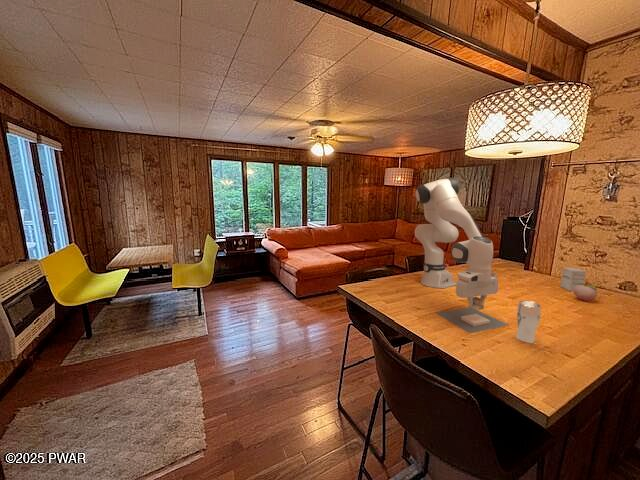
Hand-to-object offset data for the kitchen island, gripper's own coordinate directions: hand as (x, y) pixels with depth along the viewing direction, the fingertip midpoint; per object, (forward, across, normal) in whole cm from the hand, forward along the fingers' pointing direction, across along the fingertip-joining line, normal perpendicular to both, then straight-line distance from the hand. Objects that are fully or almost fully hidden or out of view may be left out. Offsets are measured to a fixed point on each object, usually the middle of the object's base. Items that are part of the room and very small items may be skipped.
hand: (476, 304), depth 114 cm
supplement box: (+8, -93, -16) cm, 95 cm away
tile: (+7, -5, 0) cm, 9 cm away
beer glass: (+9, -7, +17) cm, 20 cm away
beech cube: (+1, 0, 0) cm, 1 cm away
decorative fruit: (+8, -78, -2) cm, 78 cm away
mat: (+9, -1, -3) cm, 9 cm away
